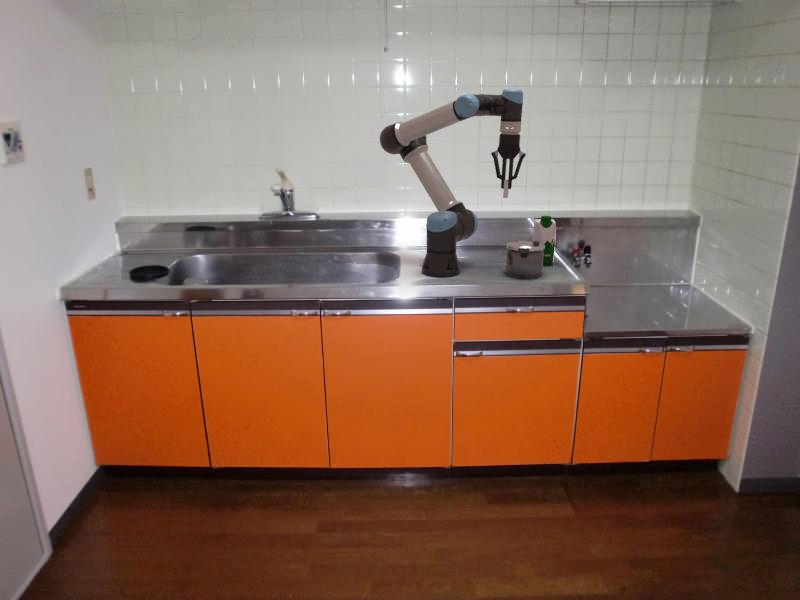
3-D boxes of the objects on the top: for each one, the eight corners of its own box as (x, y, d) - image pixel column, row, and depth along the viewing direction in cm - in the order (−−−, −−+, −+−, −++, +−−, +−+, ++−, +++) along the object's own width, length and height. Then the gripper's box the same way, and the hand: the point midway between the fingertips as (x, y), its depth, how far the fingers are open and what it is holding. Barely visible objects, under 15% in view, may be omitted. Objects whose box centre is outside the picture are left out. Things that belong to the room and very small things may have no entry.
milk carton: (532, 265, 252) (535, 217, 246) (530, 260, 261) (533, 213, 255) (554, 266, 252) (558, 217, 245) (551, 260, 260) (554, 213, 254)
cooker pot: (503, 277, 236) (504, 252, 233) (508, 267, 250) (509, 243, 247) (541, 280, 232) (542, 254, 229) (543, 269, 246) (545, 245, 243)
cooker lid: (503, 251, 231) (504, 243, 230) (508, 243, 246) (508, 236, 245) (543, 253, 227) (543, 245, 226) (545, 245, 242) (546, 238, 241)
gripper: (490, 133, 225) (486, 197, 233) (526, 134, 221) (521, 200, 229) (493, 132, 232) (489, 194, 239) (528, 133, 228) (523, 196, 236)
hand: (505, 197), depth 234 cm, fingers closed
